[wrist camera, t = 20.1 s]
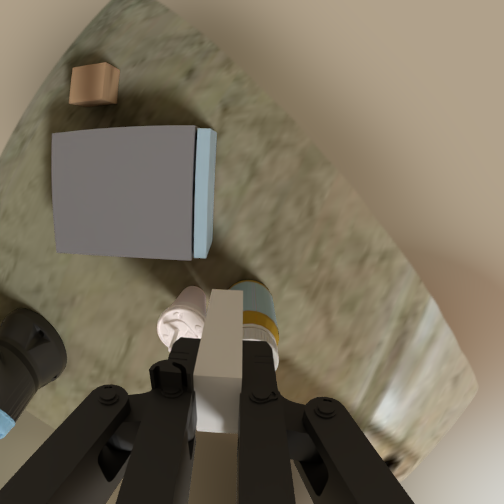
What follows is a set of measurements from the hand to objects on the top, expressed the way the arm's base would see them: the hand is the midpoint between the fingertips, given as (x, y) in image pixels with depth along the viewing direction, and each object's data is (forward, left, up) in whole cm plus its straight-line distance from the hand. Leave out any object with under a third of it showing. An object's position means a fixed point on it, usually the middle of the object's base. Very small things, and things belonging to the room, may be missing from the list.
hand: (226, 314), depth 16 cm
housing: (-14, +3, -28) cm, 32 cm away
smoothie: (-6, -13, -29) cm, 32 cm away
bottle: (+2, -13, -29) cm, 31 cm away
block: (-20, +17, -28) cm, 39 cm away
